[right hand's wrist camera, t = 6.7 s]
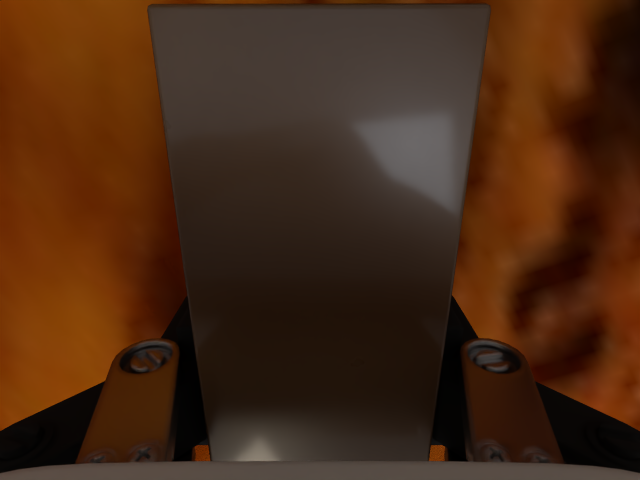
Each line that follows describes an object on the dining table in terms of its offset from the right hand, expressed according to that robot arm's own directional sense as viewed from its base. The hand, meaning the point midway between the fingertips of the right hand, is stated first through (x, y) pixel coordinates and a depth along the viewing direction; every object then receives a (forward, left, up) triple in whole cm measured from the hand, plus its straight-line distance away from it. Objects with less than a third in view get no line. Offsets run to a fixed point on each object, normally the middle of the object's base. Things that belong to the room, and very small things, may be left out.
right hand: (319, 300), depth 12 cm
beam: (+24, -11, -2) cm, 26 cm away
